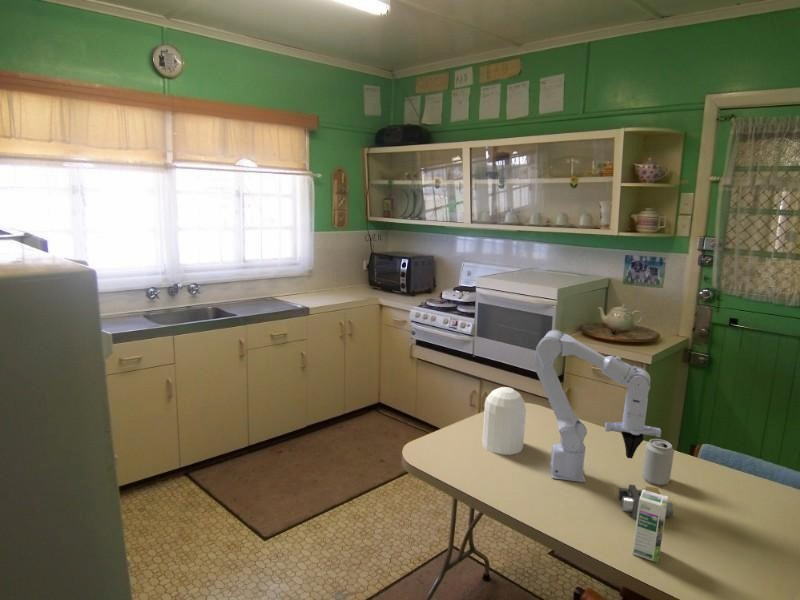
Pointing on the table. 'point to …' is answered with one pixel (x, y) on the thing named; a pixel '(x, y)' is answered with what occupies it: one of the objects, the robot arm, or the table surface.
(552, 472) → the robot arm
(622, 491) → the collar bracket
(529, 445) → the table surface
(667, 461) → the can
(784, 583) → the table surface
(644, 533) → the syrup box
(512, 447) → the container
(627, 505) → the tube
